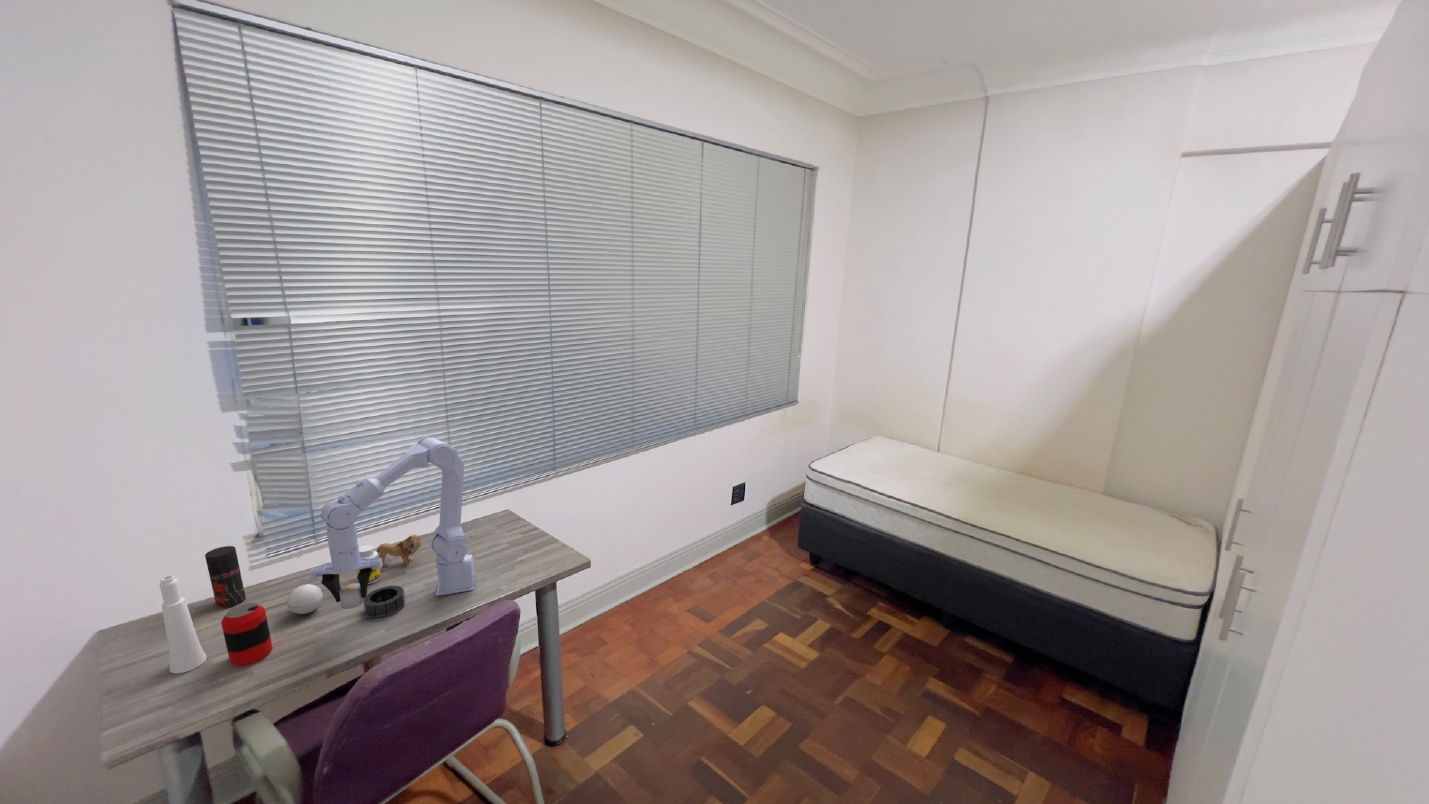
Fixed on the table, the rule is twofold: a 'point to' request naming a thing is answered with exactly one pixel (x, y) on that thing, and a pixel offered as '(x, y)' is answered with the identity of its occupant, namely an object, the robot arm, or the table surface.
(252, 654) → the soda can
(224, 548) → the deodorant
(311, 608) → the white egg
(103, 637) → the table surface
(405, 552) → the lion figurine
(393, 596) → the dark grey round ring
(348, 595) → the boiled egg half
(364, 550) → the supplement bottle
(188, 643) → the cosmetic bottle
